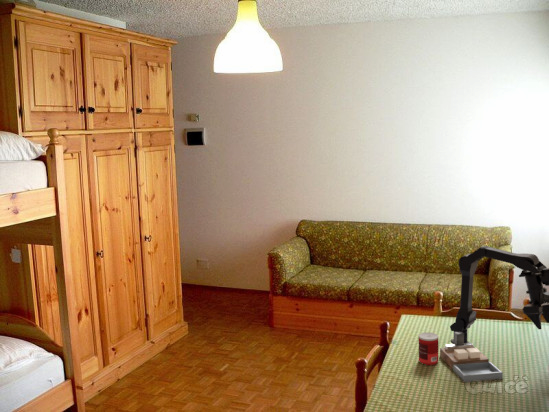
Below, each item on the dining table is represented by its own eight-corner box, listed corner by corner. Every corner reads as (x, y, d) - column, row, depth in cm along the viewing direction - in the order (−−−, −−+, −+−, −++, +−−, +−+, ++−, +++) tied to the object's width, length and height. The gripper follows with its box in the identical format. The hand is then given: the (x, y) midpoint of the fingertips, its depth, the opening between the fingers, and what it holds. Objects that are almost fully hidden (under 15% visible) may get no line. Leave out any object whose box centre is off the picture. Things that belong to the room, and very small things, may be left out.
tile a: (454, 355, 233) (454, 349, 232) (463, 354, 233) (463, 348, 233) (458, 359, 229) (458, 353, 228) (468, 358, 229) (468, 352, 229)
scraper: (444, 349, 239) (445, 332, 238) (470, 347, 240) (470, 330, 239) (447, 351, 237) (447, 335, 236) (473, 349, 238) (473, 332, 237)
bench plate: (440, 356, 241) (440, 348, 240) (472, 353, 242) (472, 345, 242) (454, 370, 227) (454, 362, 226) (488, 367, 228) (488, 359, 228)
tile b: (466, 354, 233) (466, 348, 233) (475, 353, 233) (475, 347, 233) (470, 358, 229) (470, 352, 229) (480, 357, 230) (480, 351, 229)
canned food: (439, 359, 238) (439, 333, 236) (436, 367, 231) (436, 340, 229) (420, 356, 241) (420, 331, 240) (416, 364, 234) (416, 338, 232)
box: (452, 370, 227) (453, 364, 226) (489, 367, 228) (489, 361, 228) (463, 382, 217) (464, 375, 217) (502, 378, 219) (502, 372, 218)
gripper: (547, 290, 216) (557, 332, 216) (564, 279, 229) (573, 318, 229) (517, 292, 224) (527, 332, 223) (536, 282, 237) (544, 319, 237)
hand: (544, 325), depth 228 cm, fingers open, 9 cm apart
